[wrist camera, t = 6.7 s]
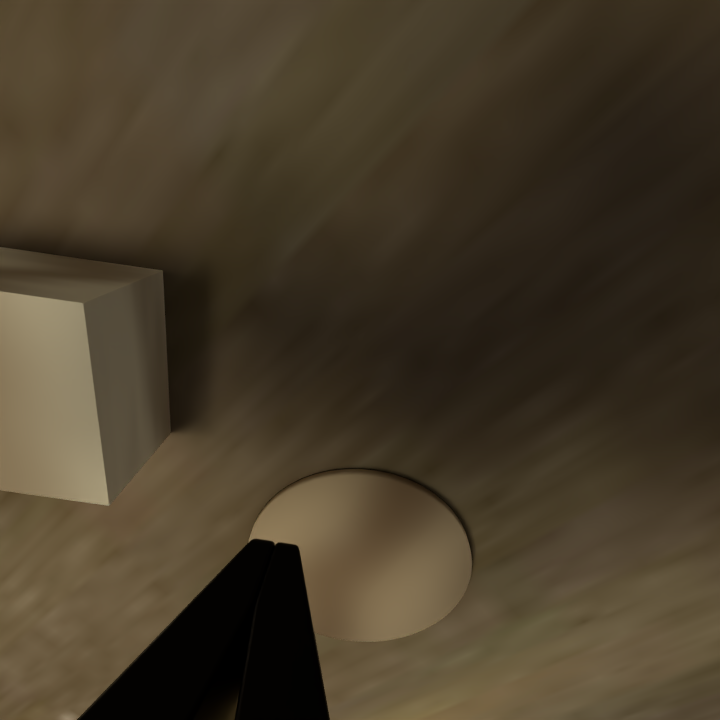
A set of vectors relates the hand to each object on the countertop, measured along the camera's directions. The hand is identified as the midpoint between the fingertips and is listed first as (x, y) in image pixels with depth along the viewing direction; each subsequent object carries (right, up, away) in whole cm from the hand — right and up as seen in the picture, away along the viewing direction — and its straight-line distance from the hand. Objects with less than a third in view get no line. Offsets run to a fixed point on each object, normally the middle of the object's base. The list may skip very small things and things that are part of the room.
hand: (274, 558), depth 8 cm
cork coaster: (+1, -5, +10) cm, 11 cm away
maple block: (-8, +4, +7) cm, 11 cm away
